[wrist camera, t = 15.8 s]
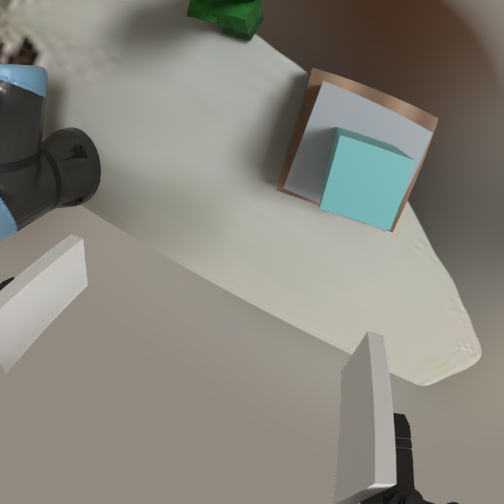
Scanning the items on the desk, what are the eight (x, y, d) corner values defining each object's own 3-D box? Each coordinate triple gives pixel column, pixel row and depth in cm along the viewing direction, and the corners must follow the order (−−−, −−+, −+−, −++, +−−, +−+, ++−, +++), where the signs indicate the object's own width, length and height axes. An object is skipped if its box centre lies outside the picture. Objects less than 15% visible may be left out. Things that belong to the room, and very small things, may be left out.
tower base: (282, 178, 43) (276, 190, 38) (314, 72, 35) (312, 67, 30) (385, 215, 42) (392, 232, 37) (424, 115, 34) (438, 118, 29)
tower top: (289, 175, 37) (283, 188, 32) (323, 84, 31) (323, 81, 26) (377, 212, 36) (385, 232, 31) (416, 127, 30) (432, 132, 25)
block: (321, 182, 30) (319, 208, 24) (336, 126, 27) (340, 134, 21) (376, 199, 30) (389, 230, 23) (393, 145, 27) (414, 160, 20)
